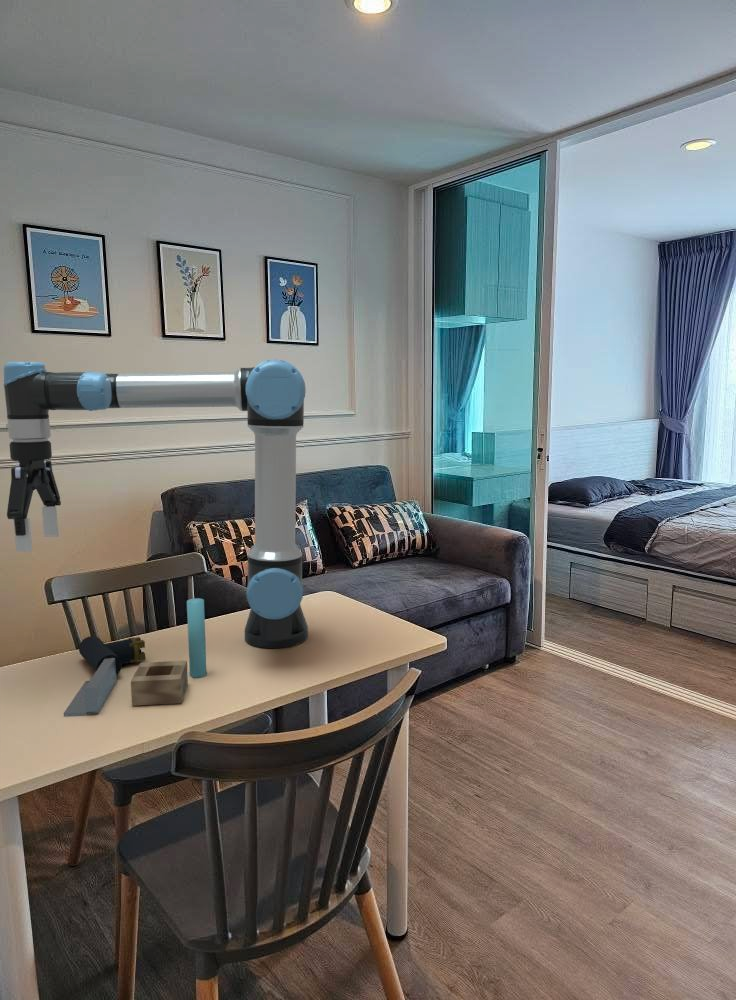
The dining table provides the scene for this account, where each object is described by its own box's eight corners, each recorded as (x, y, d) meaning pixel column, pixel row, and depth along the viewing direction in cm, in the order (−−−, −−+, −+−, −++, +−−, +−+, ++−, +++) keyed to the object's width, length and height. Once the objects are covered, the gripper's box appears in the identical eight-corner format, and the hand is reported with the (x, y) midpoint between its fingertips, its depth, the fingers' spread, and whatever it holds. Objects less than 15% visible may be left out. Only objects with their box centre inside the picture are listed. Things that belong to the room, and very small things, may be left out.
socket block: (187, 683, 137) (186, 660, 137) (181, 703, 129) (180, 679, 128) (141, 685, 136) (140, 662, 136) (132, 705, 128) (130, 681, 127)
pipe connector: (131, 627, 155) (152, 645, 143) (132, 650, 156) (153, 669, 144) (77, 637, 148) (95, 657, 136) (79, 661, 149) (97, 682, 137)
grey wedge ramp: (116, 682, 138) (115, 657, 137) (98, 714, 124) (96, 687, 124) (85, 683, 137) (84, 659, 137) (63, 716, 124) (61, 689, 123)
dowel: (207, 670, 144) (204, 598, 141) (205, 677, 141) (202, 603, 138) (191, 671, 143) (188, 598, 141) (188, 678, 140) (185, 603, 138)
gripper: (36, 436, 149) (43, 531, 152) (-20, 445, 124) (-10, 558, 127) (71, 435, 149) (78, 530, 152) (22, 444, 125) (31, 557, 128)
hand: (38, 543), depth 140 cm, fingers open, 13 cm apart
